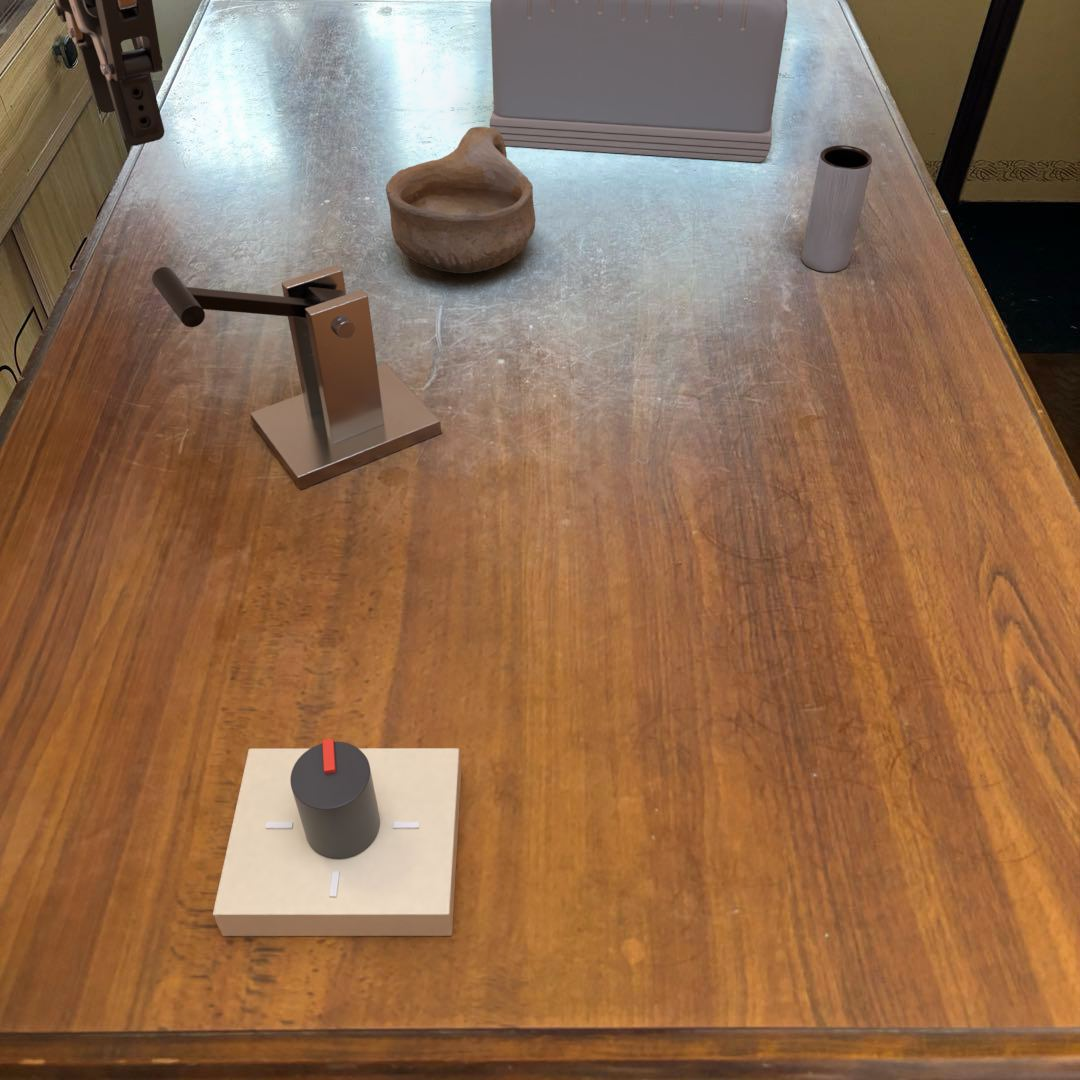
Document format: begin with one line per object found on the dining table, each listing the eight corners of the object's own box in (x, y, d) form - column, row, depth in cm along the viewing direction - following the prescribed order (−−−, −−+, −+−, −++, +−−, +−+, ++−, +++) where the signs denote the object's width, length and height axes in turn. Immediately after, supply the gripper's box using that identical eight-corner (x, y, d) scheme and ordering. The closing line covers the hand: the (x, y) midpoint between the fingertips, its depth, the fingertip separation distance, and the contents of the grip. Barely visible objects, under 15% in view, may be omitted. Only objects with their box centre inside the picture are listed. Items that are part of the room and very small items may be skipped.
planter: (792, 262, 104) (811, 159, 97) (813, 242, 107) (833, 140, 99) (836, 278, 102) (859, 173, 95) (857, 257, 105) (881, 153, 97)
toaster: (768, 35, 143) (790, -122, 130) (768, 163, 118) (795, -15, 105) (537, 23, 146) (537, -131, 133) (490, 145, 121) (483, -30, 108)
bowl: (386, 185, 112) (406, 91, 105) (520, 221, 114) (547, 131, 108) (366, 279, 99) (387, 178, 92) (517, 317, 102) (548, 222, 95)
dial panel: (222, 936, 57) (211, 913, 56) (256, 772, 65) (248, 746, 63) (452, 936, 58) (449, 912, 56) (461, 772, 65) (459, 746, 63)
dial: (383, 852, 58) (372, 798, 54) (306, 865, 58) (290, 811, 54) (377, 788, 61) (366, 732, 57) (304, 799, 60) (288, 743, 57)
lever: (177, 332, 70) (185, 298, 69) (148, 292, 73) (155, 259, 72) (357, 345, 79) (366, 315, 78) (324, 308, 82) (332, 279, 81)
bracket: (300, 490, 82) (270, 347, 73) (252, 425, 87) (219, 284, 78) (441, 433, 86) (429, 292, 77) (388, 375, 92) (371, 236, 83)
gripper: (-84, -250, 54) (31, 95, 66) (-11, -191, 46) (105, 192, 58) (69, -267, 57) (152, 67, 69) (164, -214, 49) (240, 155, 61)
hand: (130, 122), depth 63 cm, fingers open, 4 cm apart
